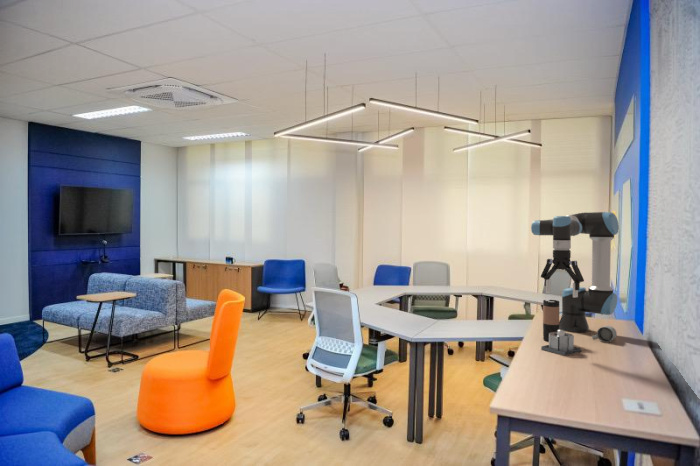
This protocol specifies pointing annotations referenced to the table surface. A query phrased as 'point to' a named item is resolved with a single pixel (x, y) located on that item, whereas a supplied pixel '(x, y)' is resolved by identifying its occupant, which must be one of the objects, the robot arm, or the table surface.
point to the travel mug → (550, 318)
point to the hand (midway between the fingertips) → (561, 295)
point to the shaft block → (561, 352)
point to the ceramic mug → (605, 334)
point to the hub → (561, 341)
